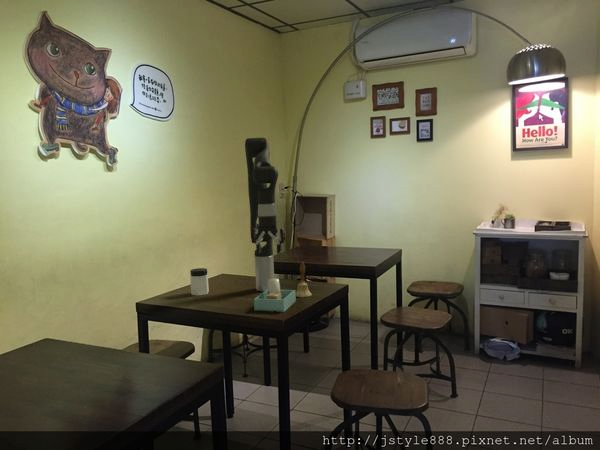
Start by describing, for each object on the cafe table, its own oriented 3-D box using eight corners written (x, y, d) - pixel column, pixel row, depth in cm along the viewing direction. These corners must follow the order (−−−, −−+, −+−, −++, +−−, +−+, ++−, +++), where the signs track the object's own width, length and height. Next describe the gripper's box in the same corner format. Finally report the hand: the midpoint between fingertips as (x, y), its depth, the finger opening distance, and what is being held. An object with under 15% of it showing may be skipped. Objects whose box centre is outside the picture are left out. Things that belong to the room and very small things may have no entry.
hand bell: (303, 292, 229) (301, 259, 228) (315, 294, 223) (314, 261, 222) (290, 295, 223) (289, 262, 222) (302, 298, 217) (301, 264, 216)
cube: (266, 295, 202) (270, 292, 207) (266, 307, 202) (271, 304, 207) (276, 296, 200) (281, 293, 205) (277, 307, 201) (281, 304, 205)
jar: (207, 295, 230) (205, 271, 229) (190, 296, 230) (188, 271, 229) (209, 291, 239) (208, 267, 238) (193, 291, 239) (192, 268, 238)
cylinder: (276, 299, 214) (274, 278, 213) (283, 300, 210) (281, 278, 209) (267, 302, 210) (265, 280, 210) (275, 303, 207) (272, 281, 206)
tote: (268, 300, 217) (267, 289, 216) (295, 301, 213) (295, 290, 212) (254, 310, 200) (253, 299, 200) (284, 311, 196) (283, 300, 196)
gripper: (286, 213, 199) (287, 251, 201) (254, 214, 203) (256, 251, 204) (280, 215, 192) (282, 254, 193) (247, 215, 196) (249, 254, 197)
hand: (269, 253), depth 199 cm, fingers open, 8 cm apart
